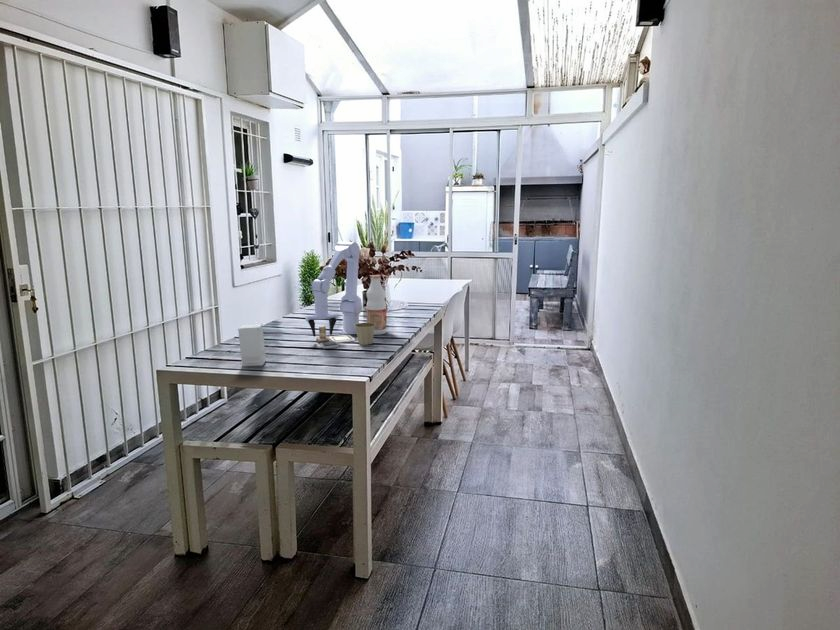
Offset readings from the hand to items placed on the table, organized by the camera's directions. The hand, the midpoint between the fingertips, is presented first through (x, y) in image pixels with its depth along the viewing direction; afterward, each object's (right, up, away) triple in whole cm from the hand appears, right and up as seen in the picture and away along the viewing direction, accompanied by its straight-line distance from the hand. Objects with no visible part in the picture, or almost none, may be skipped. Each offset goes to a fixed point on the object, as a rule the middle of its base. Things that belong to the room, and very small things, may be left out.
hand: (322, 335), depth 258 cm
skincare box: (-21, -10, -34) cm, 42 cm away
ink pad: (+4, -5, -7) cm, 10 cm away
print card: (+8, -2, +4) cm, 10 cm away
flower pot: (+20, -4, -3) cm, 21 cm away
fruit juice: (+23, 0, +17) cm, 29 cm away
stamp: (0, -3, +1) cm, 3 cm away
